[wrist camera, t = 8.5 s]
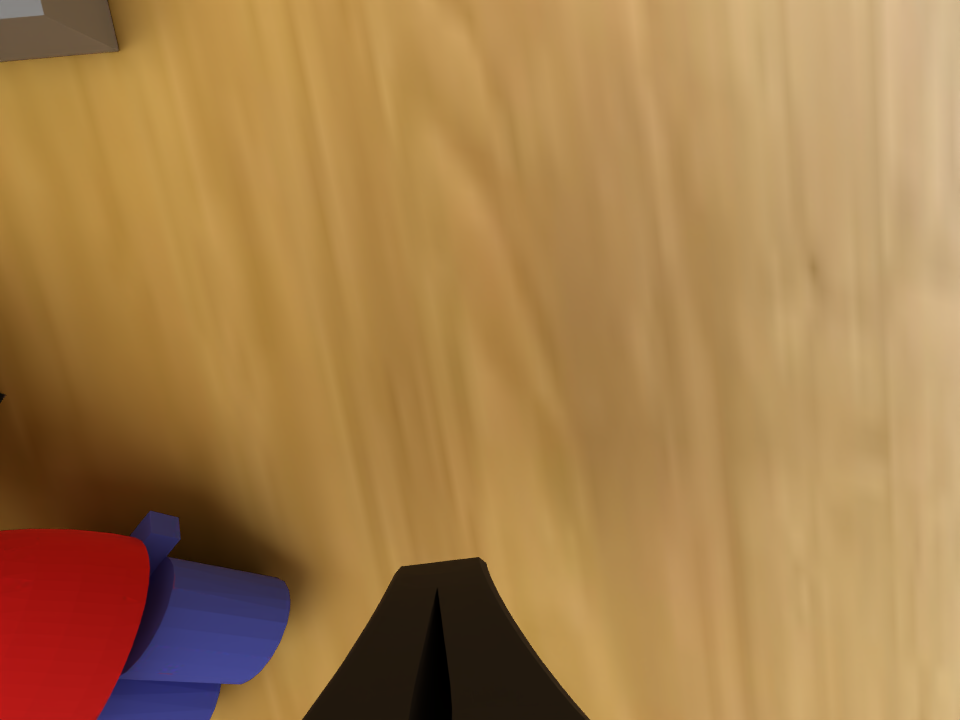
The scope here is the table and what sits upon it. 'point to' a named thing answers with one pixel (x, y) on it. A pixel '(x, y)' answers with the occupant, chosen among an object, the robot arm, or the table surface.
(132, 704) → the toy
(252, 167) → the table surface
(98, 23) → the bay
